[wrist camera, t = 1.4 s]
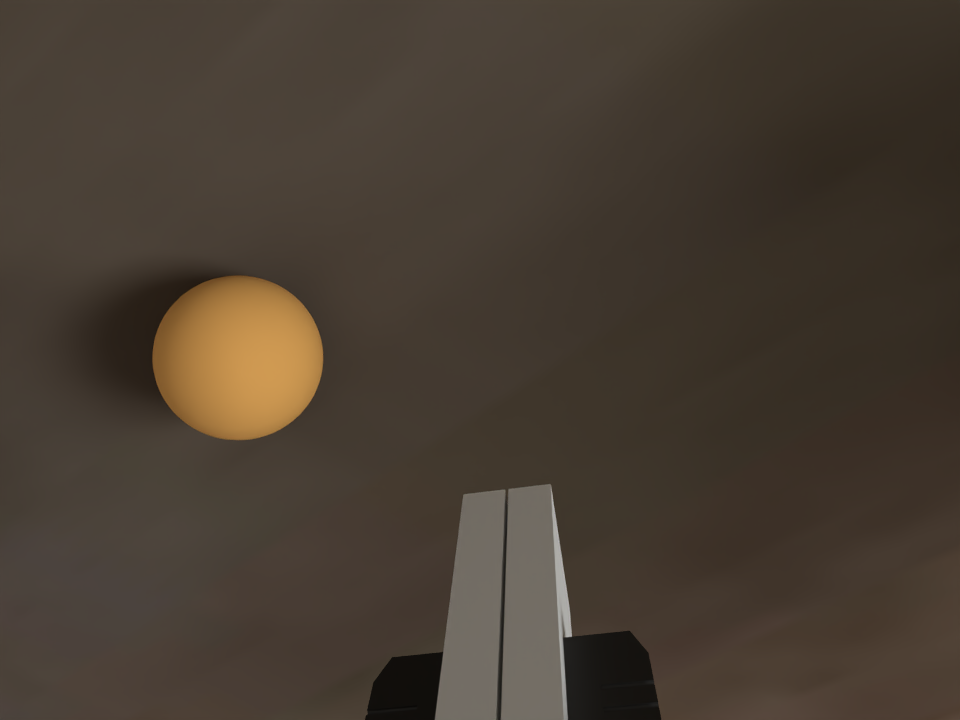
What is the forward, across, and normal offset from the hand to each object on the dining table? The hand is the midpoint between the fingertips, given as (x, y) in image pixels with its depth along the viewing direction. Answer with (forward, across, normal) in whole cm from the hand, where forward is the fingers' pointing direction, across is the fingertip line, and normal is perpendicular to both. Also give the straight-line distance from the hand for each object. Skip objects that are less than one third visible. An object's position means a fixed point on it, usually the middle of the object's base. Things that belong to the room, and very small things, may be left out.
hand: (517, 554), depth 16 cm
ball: (+14, +10, 0) cm, 17 cm away
